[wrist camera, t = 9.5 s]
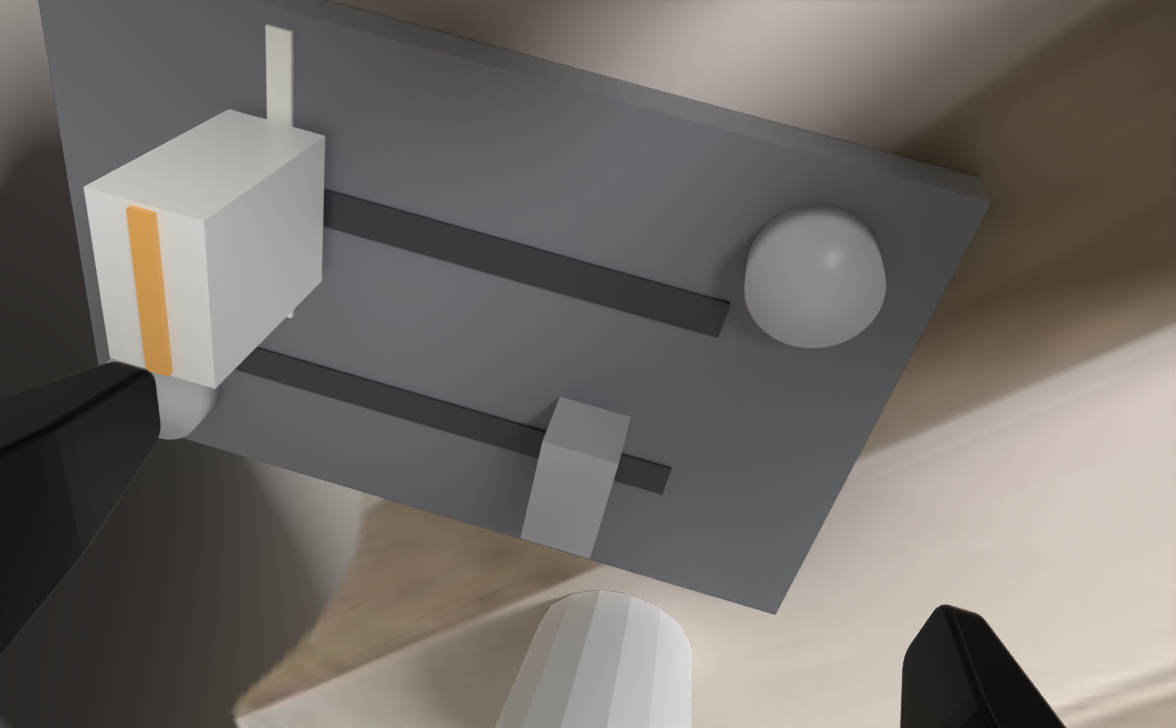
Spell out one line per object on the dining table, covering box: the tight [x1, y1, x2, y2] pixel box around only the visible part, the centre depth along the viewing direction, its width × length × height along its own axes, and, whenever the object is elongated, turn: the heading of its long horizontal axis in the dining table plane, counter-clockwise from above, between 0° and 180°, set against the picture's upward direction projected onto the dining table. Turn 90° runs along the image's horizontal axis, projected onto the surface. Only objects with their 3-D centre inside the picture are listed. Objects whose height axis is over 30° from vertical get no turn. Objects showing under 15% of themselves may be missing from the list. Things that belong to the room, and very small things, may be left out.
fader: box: [84, 109, 325, 389], centre depth 19 cm, size 2×4×5 cm, turn 168°
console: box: [38, 0, 991, 615], centre depth 22 cm, size 22×14×4 cm, turn 78°
